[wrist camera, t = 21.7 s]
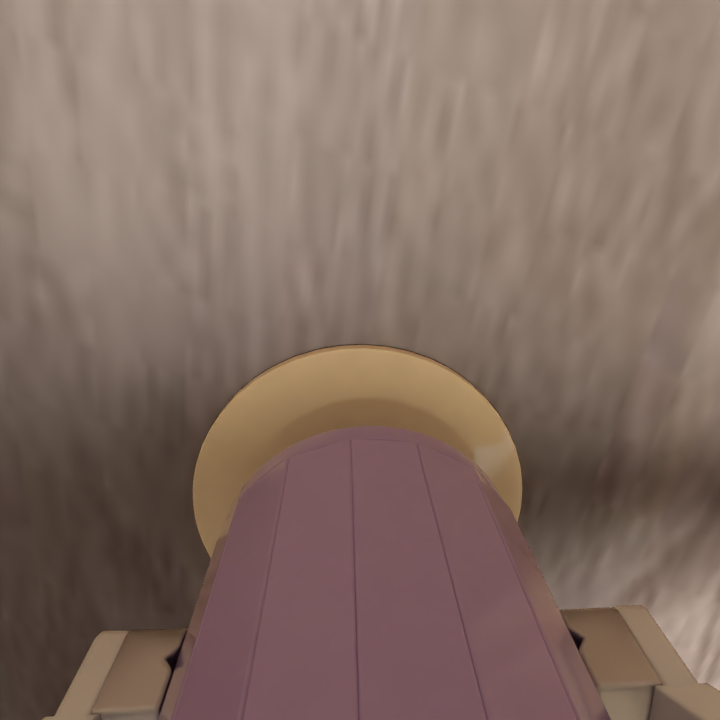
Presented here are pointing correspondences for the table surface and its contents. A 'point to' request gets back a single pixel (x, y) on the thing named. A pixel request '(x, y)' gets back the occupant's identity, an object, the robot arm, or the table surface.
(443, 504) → the purple tumbler
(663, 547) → the table surface
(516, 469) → the coasters
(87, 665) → the robot arm
